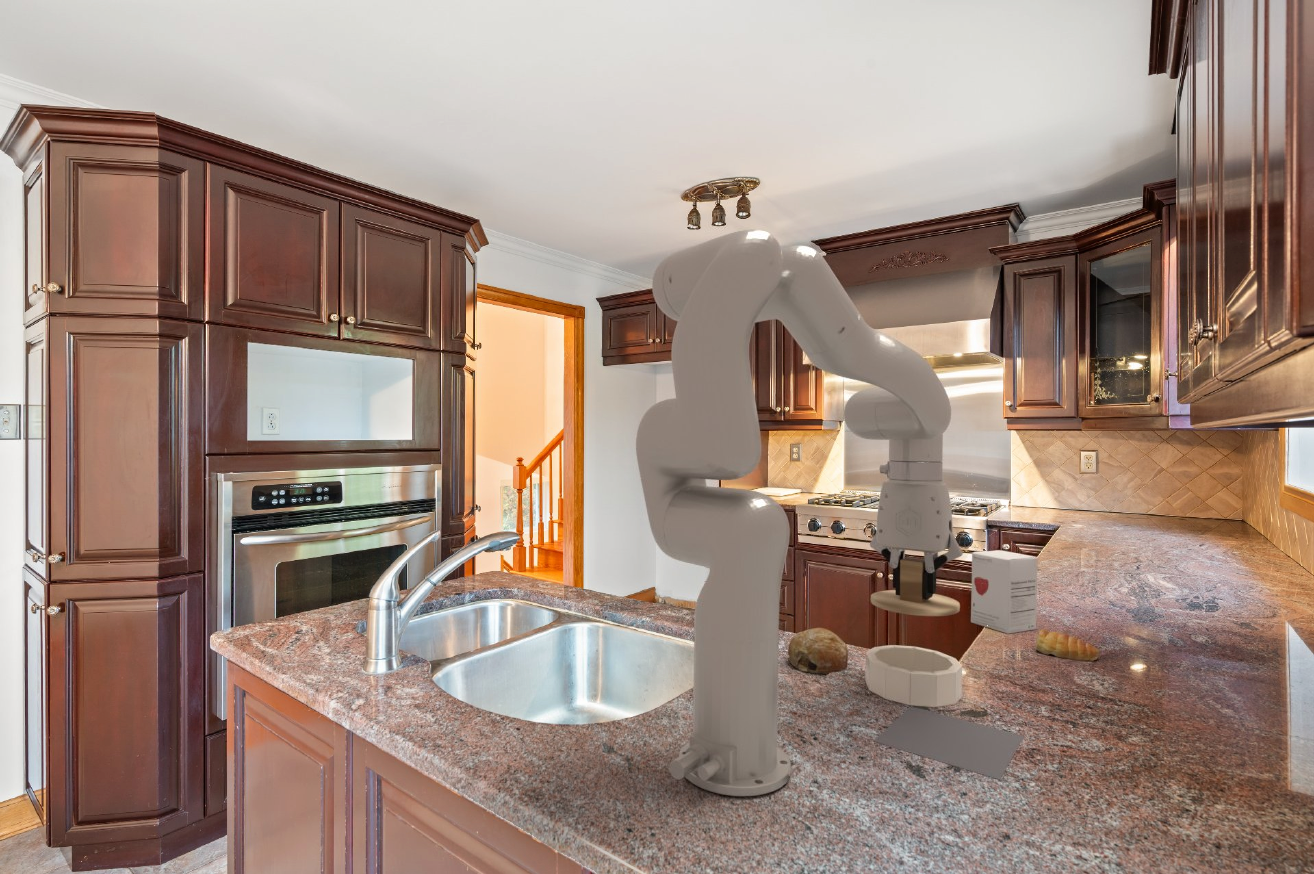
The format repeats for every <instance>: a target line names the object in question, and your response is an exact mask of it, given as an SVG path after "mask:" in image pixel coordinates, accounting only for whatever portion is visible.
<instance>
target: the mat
mask: <svg viewBox="0 0 1314 874" xmlns="http://www.w3.org/2000/svg"><path fill="white" fill-rule="evenodd" d="M1024 738H1025V735H1021V734H1017V733H1015V732H1014V733H1013V732H1010V731H1008V730H1002V729H999V728H996V727H993V726H992V727H991V726H987V725H983V724H980V723H976V722H972V721H968V720H964V719H961V718H958V717H953V716H950V715H945V714H941V713H938V712H933V711H932V710H926V709H922V708H919V707H916V706H913V705H909V707H908V708H907V709H906V710H905V711H904V712H903V713H901V715H899V717H898V718H896V719H895V720H894V721H893V722H892V723H891V724H890V725H889V726H888V727H887V728H886V729H885V730H884V731H882V732H881V733H880V734H879V735H878V736H877V737H876V738H875V739H874V740H873V742H874V743H876V744H880V745H884V746H887V747H890V748H894V749H897V750H900V751H903V752H906V753H910V754H913V755H916V756H920V757H923V758H927V759H930V760H933V761H935V762H939V763H941V764H946V765H949V766H952V767H955V768H960V769H962V770H966V771H967V772H972V773H974V774H975V773H976V774H978V775H982V776H985V777H988V778H992V779H995V780H998V781H1000V780H1001V779H1002V777H1003V775H1004V773H1005V771H1006V770H1007V768H1008V766H1009V764H1010V763H1011V761H1012V759H1013V757H1014V756H1015V753H1016V752H1017V750H1018V748H1019V747H1020V745H1021V743H1022V741H1023V740H1024Z"/></svg>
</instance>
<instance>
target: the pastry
mask: <svg viewBox="0 0 1314 874" xmlns="http://www.w3.org/2000/svg"><path fill="white" fill-rule="evenodd" d="M1034 646H1035V647H1034V648H1035V649H1036V650H1037V651H1038V652H1040V653H1041V654H1044V655H1053V656H1055V657H1058V658H1061V659H1067V660H1074V661H1082V662H1084V661H1086V662H1087V661H1091V662H1093V661H1096V660H1098V658H1099V654H1100V653H1099V652H1100V651H1099V648H1097V647H1095V646H1094V645H1092V644H1091V643H1087V642H1085V641H1083V640H1082V639H1080V638H1077V637H1076V636H1071V635H1069V634H1067V633H1060V632H1057V631H1052V632H1050V631H1047V630H1046V629H1040V630H1039V632H1038V635H1037V638H1036V643H1035V645H1034Z"/></svg>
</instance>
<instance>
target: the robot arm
mask: <svg viewBox="0 0 1314 874" xmlns="http://www.w3.org/2000/svg"><path fill="white" fill-rule="evenodd" d="M651 283H652V286H651V287H652V290H651V291H652V295H653V299H654V301H655V303H656V305H657V307H658V308H659V310H661V312H662V313H663V314H664V315H666V316H667V317H668V318H670V319H671V320H673V321H676V322H677V324H676V327H675V328H674V333H673V335H672V336H673V338H672V342H671V353H670V354H671V356H670V357H671V358H670V359H671V366H672V367H671V368H672V375H673V376H672V377H673V385H674V386H673V387H674V392H675V398H667V399H664V400H661V401H659V402H657V403H654V404H653V405H652V406H650V408H648V410H647V411H646V412H645V413H644V415H643V416H642V418H641V420H640V421H639V424H638V428H637V431H636V439H635V451H636V452H635V455H636V460H637V467H638V471H639V476H640V481H641V486H642V488H641V489H642V492H643V497H644V503H645V508H646V513H647V517H648V523H649V527H650V530H651V534H652V536H653V539H654V541H655V543H656V545H657V546H658V548H659V549H660V550H661V552H663V553H664V554H665V556H668V557H670V558H671V559H674V560H676V561H679V562H682V563H686V564H692V565H695V566H700V567H704V568H706V569H709V571H708V572H709V573H708V575H707V577H706V580H705V582H704V584H703V586H702V587H701V589H700V592H699V594H698V597H697V599H696V604H695V609H694V617H693V618H694V622H693V623H694V625H693V626H694V627H693V628H694V632H693V633H694V643H693V645H694V646H693V649H694V650H693V694H692V696H693V704H692V705H693V706H692V707H693V708H692V733H691V734H690V735H689V738H688V739H689V741H688V742H687V743H686V744H684V746H682V747H681V749H680V751H679V754H678V757H677V758H675V759H673V760H672V761H671V762H670V763H669V768H668V769H669V772H670V775H671V777H673V778H674V779H676V780H677V781H678V780H682V779H683V778H685V779H687V780H688V781H689V783H692V784H693V785H695V786H697V787H699V788H700V789H703V790H705V791H708V792H711V793H714V794H715V793H716V794H719V795H724V796H731V797H754V796H761V795H766V794H769V793H772V792H774V791H777V790H779V789H780V788H782V787H783V786H785V784H787V782H789V780H790V778H791V772H792V763H791V759H790V758H789V756H788V755H787V753H786V752H785V751H784V750H783V749H782V748H781V747H779V746H778V719H779V718H778V717H779V715H778V709H779V704H778V703H779V652H780V651H779V649H780V648H779V642H780V641H779V640H780V639H779V638H780V637H779V633H780V632H779V629H780V601H781V600H780V598H781V587H782V578H783V573H784V568H785V563H786V559H787V554H788V551H789V550H788V549H789V545H790V537H791V535H790V534H791V528H790V522H789V519H788V515H787V514H786V512H785V509H784V508H783V507H782V506H781V505H780V504H779V502H778V501H776V500H775V499H774V498H772V497H771V496H769V495H767V494H765V493H762V492H758V491H756V490H752V489H745V488H736V487H735V488H734V487H724V486H708V485H707V481H706V480H712V481H713V480H714V481H731V480H739V479H741V478H745V477H747V476H748V475H750V474H752V473H753V472H754V471H755V470H756V469H757V467H758V465H759V464H760V461H761V457H762V437H761V429H760V422H759V416H758V410H757V409H758V408H757V403H756V397H755V390H754V384H753V383H754V382H753V379H752V371H751V362H750V341H751V336H752V333H753V332H752V331H753V329H754V327H755V324H756V323H760V322H764V321H765V322H767V321H770V320H778V321H779V322H781V323H782V324H783V326H784V328H785V329H787V331H788V332H789V334H790V335H791V336H792V338H793V340H795V342H796V343H797V345H798V346H799V347H800V348H801V350H802V351H803V353H804V354H805V355H806V356H807V358H808V360H809V361H810V362H811V364H812V365H813V366H814V367H816V368H817V369H819V370H821V371H824V372H826V373H829V374H831V375H836V376H838V377H842V378H845V379H850V380H854V381H858V382H862V383H866V384H870V385H872V386H875V387H873V388H866V389H865V388H864V389H862V390H860V391H857V392H855V393H854V394H852V395H851V397H849V399H848V400H847V401H846V404H845V406H844V411H843V417H844V421H845V425H846V427H847V429H849V430H850V432H851V433H853V435H855V436H857V437H859V438H862V439H865V440H875V441H876V440H877V441H879V440H881V441H882V440H883V441H886V440H887V441H888V461H887V462H886V464H880V466H879V473H880V474H885V475H886V476H887V479H888V481H882V484H881V489H880V494H879V501H878V507H877V516H876V518H877V519H876V529H875V531H876V533H875V534H874V535H873V537H872V539H871V541H870V542H869V546H870V547H871V548H872V549H873V550H875V551H876V552H877V553H878V554H881V555H882V556H883V558H884V559H885V560H886V561H887V563H888V564H889V567H891V568H892V587H893V589H895V590H896V592H895V593H896V595H899V596H900V560H901V559H904V558H905V555H906V551H912V552H920V553H921V552H922V553H923V557H924V558H923V559H925V572H923V574H922V598H923V599H924V600H928V599H929V598H931V597H932V596H933V594H937V571H938V570H939V569H941V568H942V567H943V566H944V565H946V564H947V563H948V562H951V561H953V560H955V559H958V558H960V557H962V556H963V554H964V553H963V551H962V549H961V547H960V545H959V543H958V541H957V540H956V538H955V536H954V528H953V514H952V505H951V499H950V493H949V492H950V491H949V487H948V484H947V483H943V468H944V467H943V466H944V465H943V447H944V446H943V444H944V443H943V442H944V441H943V440H944V439H943V437H944V436H943V433H945V432H946V430H948V427H949V425H950V423H951V419H952V408H951V407H952V406H951V401H950V399H949V396H948V393H947V391H946V389H945V387H944V386H943V385H944V384H942V381H941V380H940V378H939V376H938V375H937V372H936V371H935V370H934V368H933V367H932V365H931V364H930V363H929V362H928V361H927V360H926V359H925V357H924V356H922V355H921V354H920V353H918V352H917V351H916V350H914V349H913V348H911V347H909V346H907V345H906V344H904V343H902V342H900V341H899V340H897V339H895V338H894V337H891V336H889V335H887V334H886V333H883V332H882V331H880V330H877V329H875V328H873V327H872V326H870V325H869V324H868V323H866V321H865V318H864V317H863V316H862V314H861V313H860V312H859V309H858V308H857V307H856V305H855V304H854V302H853V300H852V299H851V298H850V296H849V294H848V292H846V290H845V288H844V286H843V285H842V284H841V282H840V280H839V279H838V278H837V276H836V274H835V273H834V271H833V270H832V269H831V266H830V265H829V263H827V261H826V259H825V258H824V256H823V255H822V254H821V253H820V252H819V251H818V250H816V249H815V248H813V247H811V246H808V245H791V246H785V247H781V245H780V243H779V241H778V239H776V237H774V235H772V234H771V233H770V232H768V231H766V230H763V229H755V228H754V229H744V230H743V229H742V230H737V231H733V232H730V233H728V234H723V235H721V236H718V237H715V238H713V239H709V240H707V241H704V242H703V243H699V244H696V245H693V246H690V247H687V248H684V249H682V250H679V251H676V252H673V253H671V254H670V255H668V256H666V257H665V258H664V259H663V260H661V262H660V263H659V264H658V265H657V267H656V269H655V270H654V273H653V277H652V282H651ZM946 549H947V550H948V551H947V552H946V553H942V554H940V555H939V553H941V552H943V551H944V550H946Z"/></svg>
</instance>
